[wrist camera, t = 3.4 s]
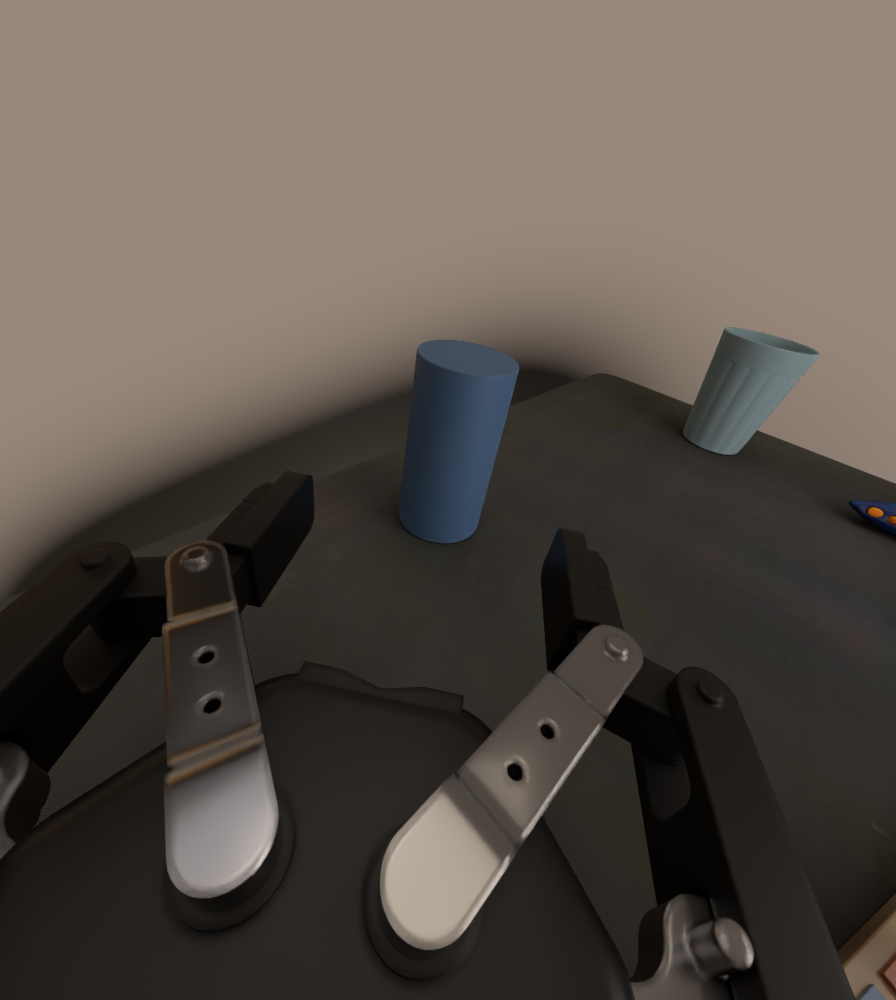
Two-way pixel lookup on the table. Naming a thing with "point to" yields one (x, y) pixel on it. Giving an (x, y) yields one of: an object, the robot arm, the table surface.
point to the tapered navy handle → (877, 513)
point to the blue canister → (453, 436)
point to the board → (873, 956)
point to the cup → (744, 387)
